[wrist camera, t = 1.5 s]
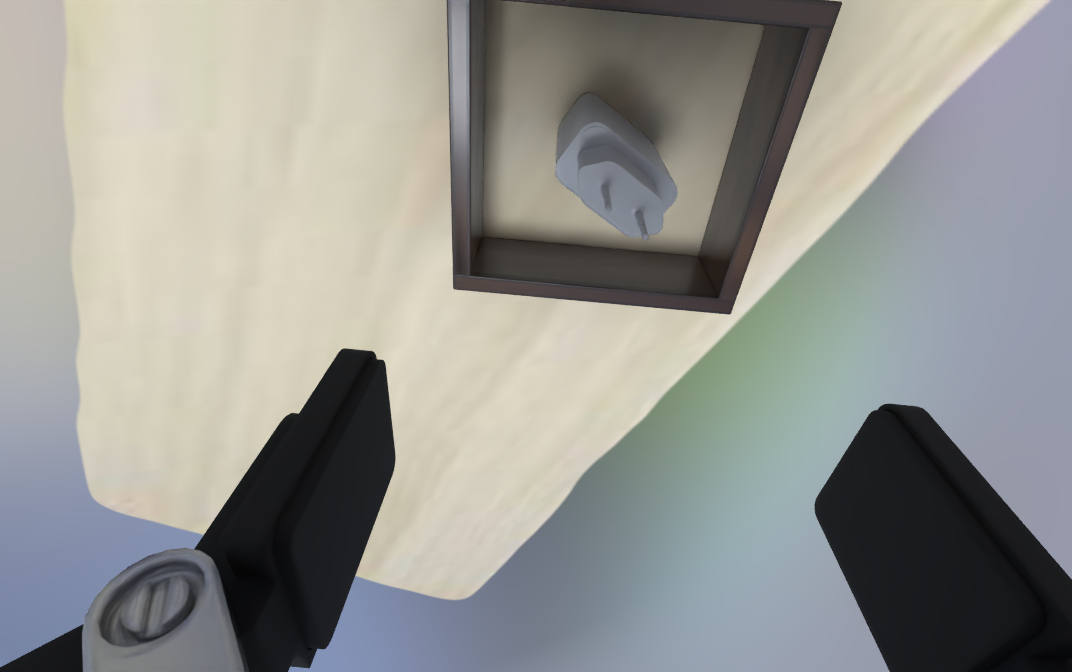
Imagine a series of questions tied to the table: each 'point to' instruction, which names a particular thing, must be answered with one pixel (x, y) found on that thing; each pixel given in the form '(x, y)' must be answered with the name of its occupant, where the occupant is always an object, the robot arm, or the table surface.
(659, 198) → the power adapter
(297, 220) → the table surface
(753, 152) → the square frame
